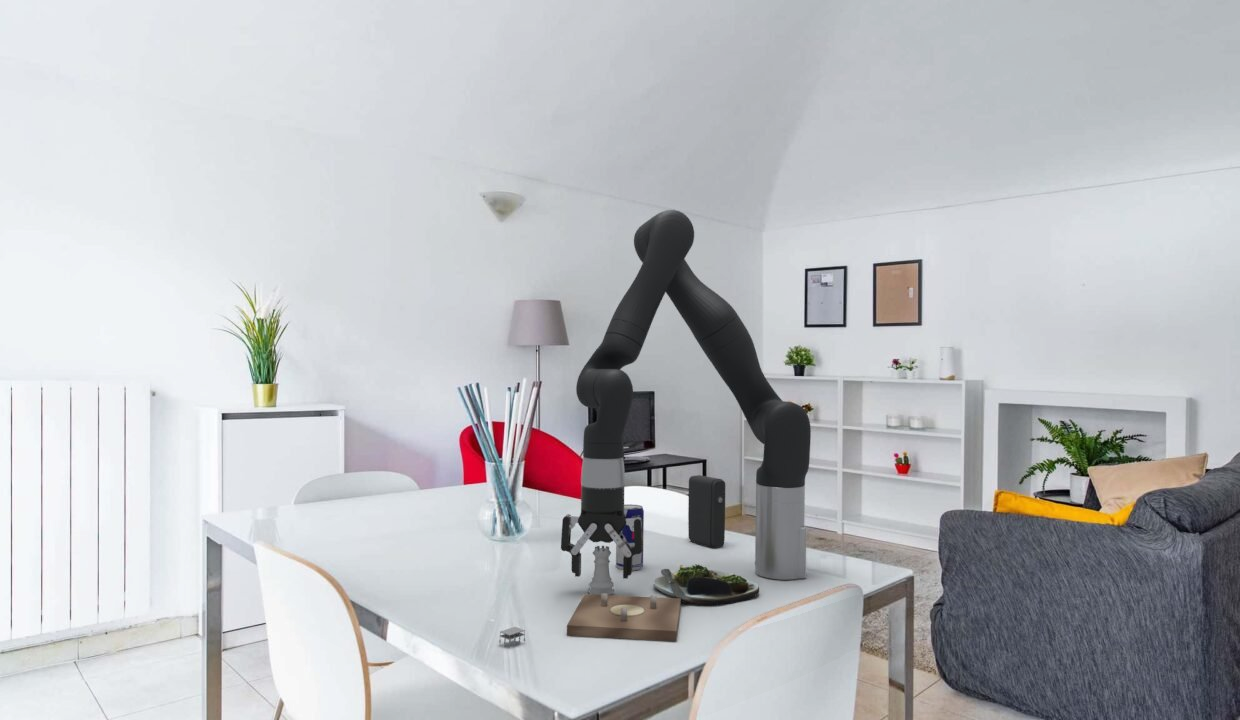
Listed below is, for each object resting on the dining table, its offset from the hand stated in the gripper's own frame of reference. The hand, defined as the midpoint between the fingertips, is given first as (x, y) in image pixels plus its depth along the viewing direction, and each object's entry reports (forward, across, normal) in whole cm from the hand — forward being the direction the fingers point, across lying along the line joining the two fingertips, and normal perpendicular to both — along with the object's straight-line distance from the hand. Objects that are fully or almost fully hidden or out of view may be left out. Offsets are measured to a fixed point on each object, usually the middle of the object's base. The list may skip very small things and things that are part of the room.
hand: (601, 576), depth 135 cm
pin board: (+3, -6, +14) cm, 15 cm away
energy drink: (+3, -3, -18) cm, 19 cm away
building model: (+3, +9, +26) cm, 28 cm away
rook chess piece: (+3, 0, 0) cm, 3 cm away
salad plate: (+3, -18, -4) cm, 19 cm away
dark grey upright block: (+3, -18, -41) cm, 45 cm away
